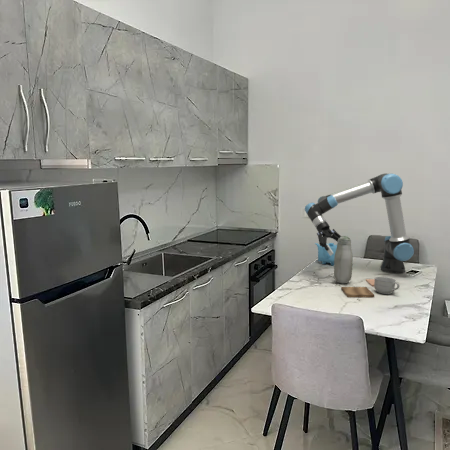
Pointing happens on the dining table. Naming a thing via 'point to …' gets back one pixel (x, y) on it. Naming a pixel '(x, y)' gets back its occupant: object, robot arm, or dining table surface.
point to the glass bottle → (343, 260)
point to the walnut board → (357, 292)
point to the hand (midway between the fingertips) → (339, 253)
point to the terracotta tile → (371, 281)
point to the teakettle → (326, 254)
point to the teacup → (385, 285)
